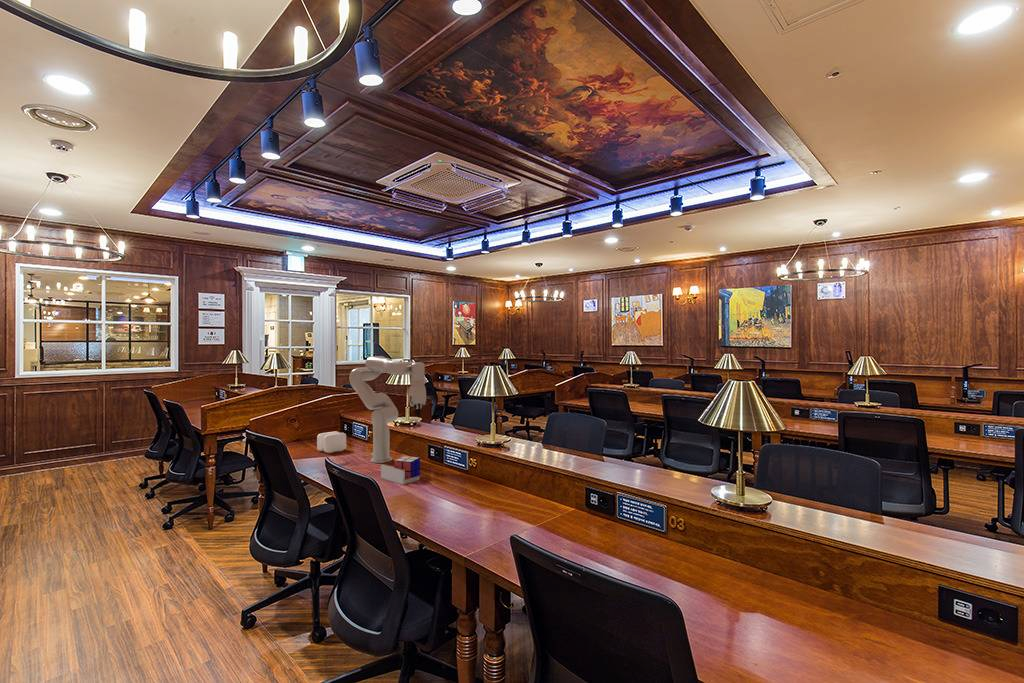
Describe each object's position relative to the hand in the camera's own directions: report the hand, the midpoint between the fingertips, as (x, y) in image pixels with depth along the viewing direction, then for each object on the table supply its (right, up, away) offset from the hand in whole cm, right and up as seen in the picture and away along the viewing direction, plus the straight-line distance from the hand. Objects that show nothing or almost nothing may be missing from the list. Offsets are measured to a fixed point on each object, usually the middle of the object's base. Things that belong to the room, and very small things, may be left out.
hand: (417, 415), depth 268 cm
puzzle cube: (-1, -30, -22) cm, 37 cm away
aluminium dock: (-4, -29, -24) cm, 38 cm away
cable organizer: (-63, -29, +35) cm, 78 cm away
